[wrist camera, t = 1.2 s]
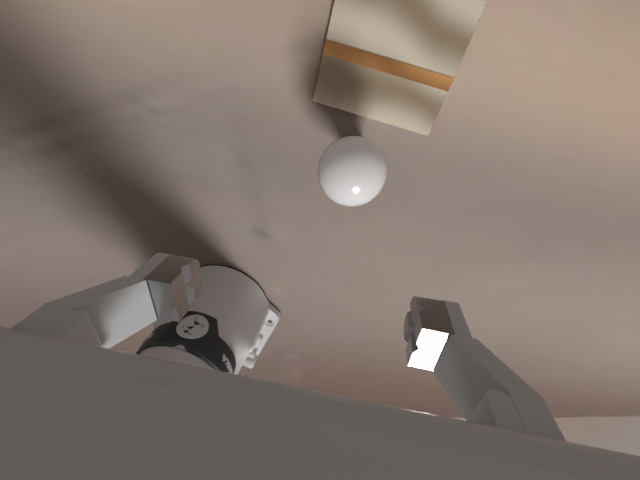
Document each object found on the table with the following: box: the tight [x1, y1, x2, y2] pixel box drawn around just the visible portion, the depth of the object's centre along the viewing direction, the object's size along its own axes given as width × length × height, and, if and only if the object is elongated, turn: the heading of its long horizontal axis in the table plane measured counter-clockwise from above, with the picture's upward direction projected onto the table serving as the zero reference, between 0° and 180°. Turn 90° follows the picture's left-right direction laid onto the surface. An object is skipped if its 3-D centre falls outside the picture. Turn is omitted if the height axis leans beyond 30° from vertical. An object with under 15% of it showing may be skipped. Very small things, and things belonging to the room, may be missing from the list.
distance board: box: [313, 0, 487, 136], centre depth 26 cm, size 19×13×1 cm
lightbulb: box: [318, 136, 387, 207], centre depth 29 cm, size 6×6×11 cm
